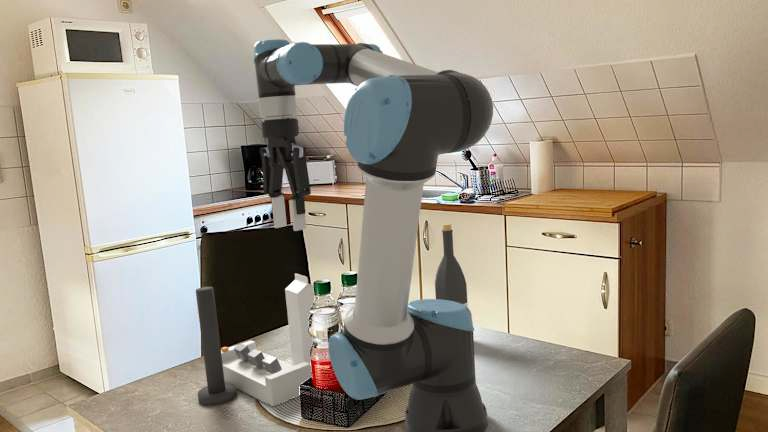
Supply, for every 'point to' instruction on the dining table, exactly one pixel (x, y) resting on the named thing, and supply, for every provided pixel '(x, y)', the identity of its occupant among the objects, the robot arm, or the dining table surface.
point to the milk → (299, 318)
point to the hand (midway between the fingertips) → (290, 228)
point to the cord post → (212, 352)
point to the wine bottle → (450, 273)
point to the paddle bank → (257, 358)
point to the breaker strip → (263, 377)
